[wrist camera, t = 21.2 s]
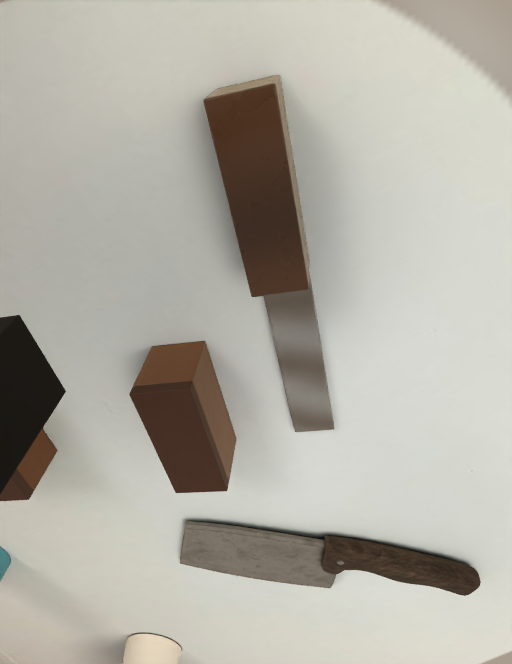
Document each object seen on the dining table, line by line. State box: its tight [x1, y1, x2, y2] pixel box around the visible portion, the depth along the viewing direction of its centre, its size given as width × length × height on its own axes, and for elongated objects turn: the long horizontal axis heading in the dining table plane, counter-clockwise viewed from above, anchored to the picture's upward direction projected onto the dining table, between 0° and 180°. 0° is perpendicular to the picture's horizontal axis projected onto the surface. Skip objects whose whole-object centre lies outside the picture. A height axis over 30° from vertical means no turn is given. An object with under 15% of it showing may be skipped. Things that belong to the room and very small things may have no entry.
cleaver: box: [180, 521, 480, 596], centre depth 45 cm, size 29×10×2 cm, turn 88°
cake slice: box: [130, 341, 236, 493], centre depth 32 cm, size 10×4×5 cm, turn 11°
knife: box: [203, 75, 334, 432], centre depth 27 cm, size 24×3×4 cm, turn 12°
